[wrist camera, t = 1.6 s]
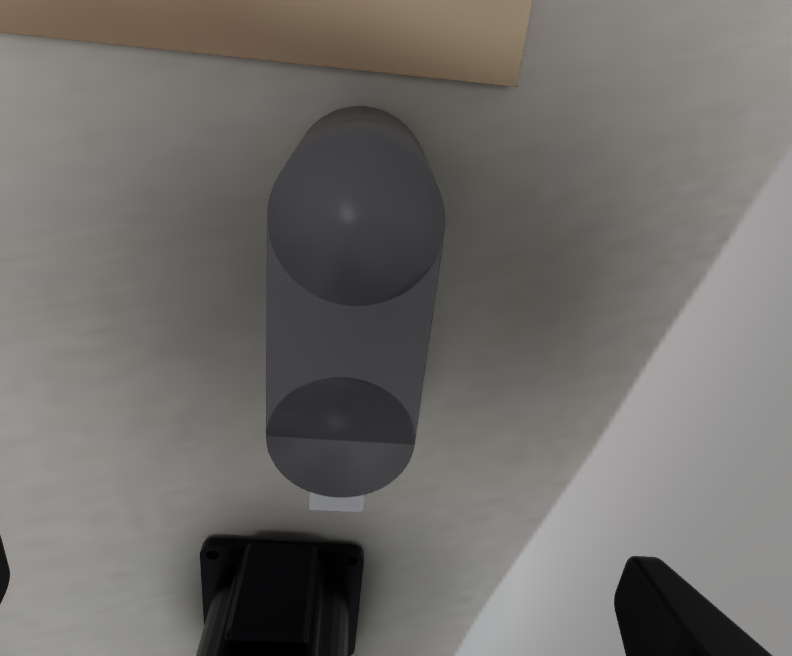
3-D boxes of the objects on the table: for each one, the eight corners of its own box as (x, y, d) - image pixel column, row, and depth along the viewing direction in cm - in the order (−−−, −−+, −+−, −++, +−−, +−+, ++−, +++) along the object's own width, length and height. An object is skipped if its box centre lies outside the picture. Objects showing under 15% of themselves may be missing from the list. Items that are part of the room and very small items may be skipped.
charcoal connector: (393, 456, 23) (398, 561, 18) (286, 450, 22) (265, 555, 18) (434, 113, 17) (456, 142, 13) (295, 99, 17) (267, 124, 12)
